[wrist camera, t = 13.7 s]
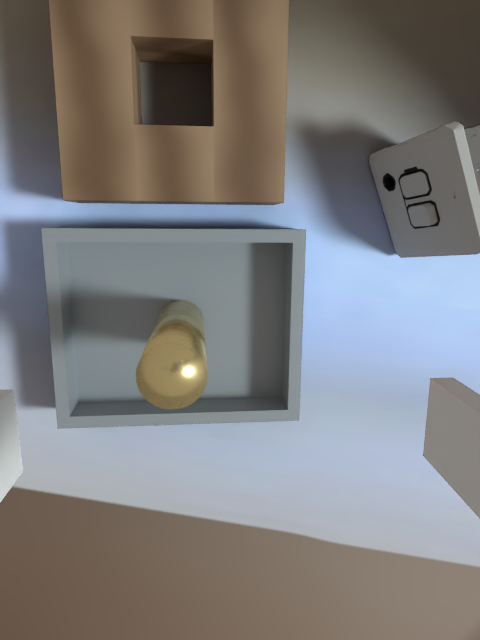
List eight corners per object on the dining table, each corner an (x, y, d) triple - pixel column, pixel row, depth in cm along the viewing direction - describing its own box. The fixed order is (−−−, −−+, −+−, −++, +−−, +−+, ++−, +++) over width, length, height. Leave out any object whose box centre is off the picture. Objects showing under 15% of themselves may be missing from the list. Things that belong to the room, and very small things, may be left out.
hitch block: (277, -7, 36) (290, -43, 31) (273, 204, 39) (283, 202, 34) (66, -18, 34) (44, -58, 29) (80, 202, 38) (63, 200, 33)
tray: (295, 228, 40) (306, 229, 36) (289, 402, 43) (299, 420, 39) (57, 227, 38) (41, 228, 34) (70, 409, 41) (57, 428, 37)
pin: (204, 299, 39) (207, 341, 25) (204, 344, 40) (207, 408, 26) (156, 299, 39) (134, 342, 25) (158, 345, 40) (137, 410, 26)
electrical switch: (364, 155, 39) (428, 130, 30) (417, 134, 39) (496, 104, 30) (395, 258, 41) (462, 264, 32) (445, 237, 42) (525, 237, 33)
